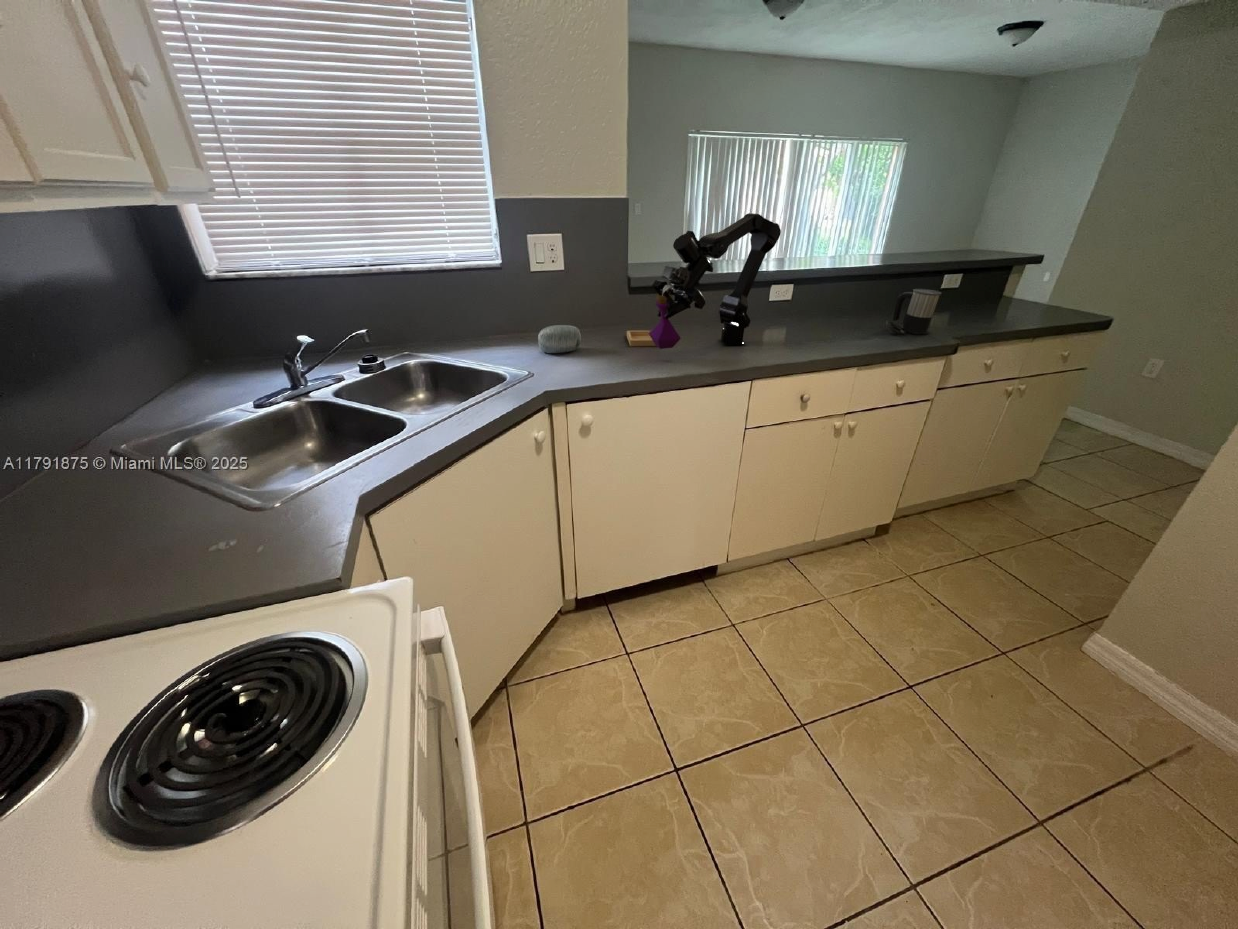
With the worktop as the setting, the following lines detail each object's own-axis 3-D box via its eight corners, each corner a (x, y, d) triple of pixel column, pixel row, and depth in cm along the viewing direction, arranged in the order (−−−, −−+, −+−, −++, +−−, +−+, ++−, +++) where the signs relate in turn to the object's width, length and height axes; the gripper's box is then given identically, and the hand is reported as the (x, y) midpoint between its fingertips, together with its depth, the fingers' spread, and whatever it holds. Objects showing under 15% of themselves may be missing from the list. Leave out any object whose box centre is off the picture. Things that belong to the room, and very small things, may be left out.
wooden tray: (658, 336, 173) (659, 330, 172) (664, 345, 163) (664, 340, 162) (626, 336, 172) (626, 330, 171) (630, 346, 162) (630, 340, 161)
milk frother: (928, 330, 186) (942, 290, 179) (925, 340, 175) (940, 297, 167) (888, 324, 193) (899, 285, 185) (882, 333, 181) (894, 292, 174)
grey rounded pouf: (579, 334, 161) (574, 311, 152) (586, 355, 156) (580, 332, 148) (540, 345, 161) (532, 323, 152) (545, 366, 156) (537, 345, 147)
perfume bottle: (657, 351, 145) (661, 289, 135) (647, 343, 151) (651, 283, 141) (680, 348, 147) (685, 287, 137) (669, 341, 153) (674, 281, 143)
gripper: (658, 250, 144) (627, 293, 144) (702, 259, 131) (668, 306, 131) (676, 276, 152) (647, 316, 152) (719, 286, 139) (688, 330, 139)
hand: (661, 317), depth 144 cm, fingers closed on perfume bottle, 3 cm apart
